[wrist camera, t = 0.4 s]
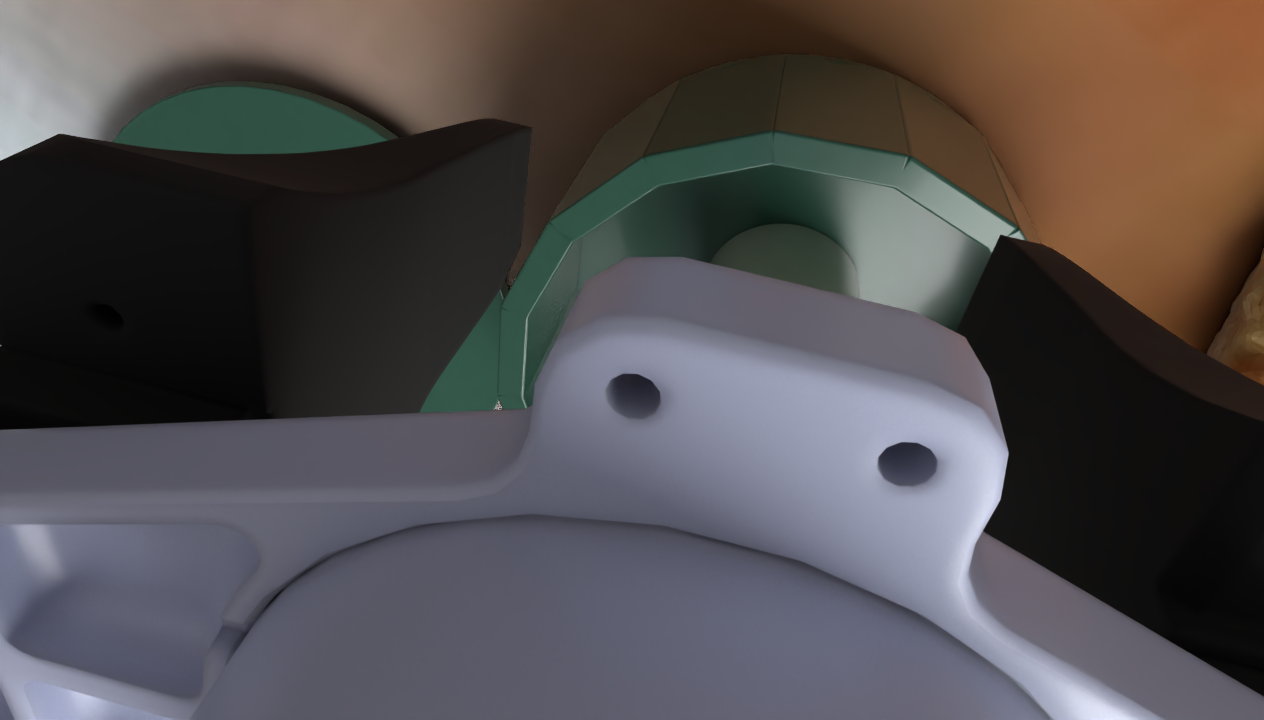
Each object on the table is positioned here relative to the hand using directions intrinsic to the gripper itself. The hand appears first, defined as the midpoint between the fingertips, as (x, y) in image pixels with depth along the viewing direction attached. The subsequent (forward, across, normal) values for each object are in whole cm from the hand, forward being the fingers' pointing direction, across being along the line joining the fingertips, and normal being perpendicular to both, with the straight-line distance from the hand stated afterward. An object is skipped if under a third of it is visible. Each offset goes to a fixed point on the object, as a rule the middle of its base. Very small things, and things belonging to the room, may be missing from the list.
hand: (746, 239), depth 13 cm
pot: (+10, -2, +6) cm, 12 cm away
